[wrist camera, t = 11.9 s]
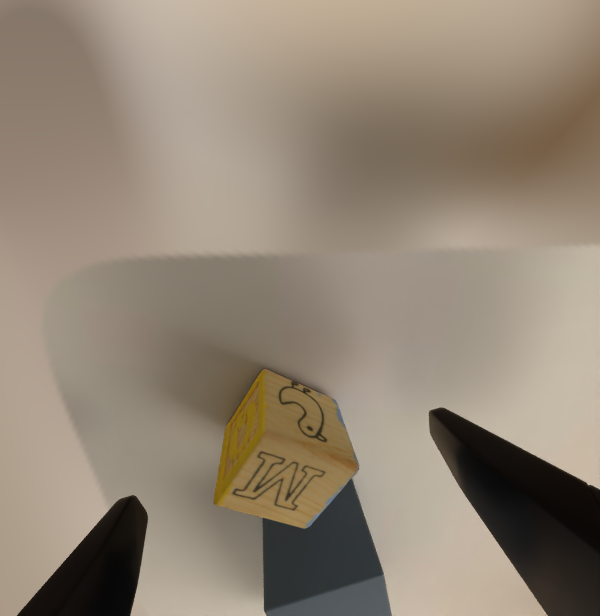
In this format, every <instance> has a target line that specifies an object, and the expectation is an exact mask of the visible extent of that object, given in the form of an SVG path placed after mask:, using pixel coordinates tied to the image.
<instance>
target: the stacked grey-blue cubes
mask: <svg viewBox="0 0 600 616" xmlns="http://www.w3.org/2000/svg"><path fill="white" fill-rule="evenodd" d="M263 572H264V611H265V613H266V615H267V616H392V615H391V610H390V604H389V599H388V594H387V589H386V583H385V578H384V573H383V570H382V567H381V564H380V561H379V558H378V555H377V552H376V549H375V546H374V543H373V540H372V537H371V534H370V531H369V528H368V525H367V522H366V519H365V516H364V513H363V510H362V507H361V504H360V501H359V498H358V495H357V492H356V489H355V487H354V484H353V481H352V479H350V480H349V481H348V483H347V484H346V485H345V486H344V488H343V489H342V490H341V491H340V492H339V493H338V494H337V496H336V497H335V498H334V499H333V500H332V502H331V503H330V504H329V505H328V506H327V507H326V508H325V509H324V510H323V512H322V513H321V514H320V515H319V516H318V518H317V519H316V520H315V521H314V522H313V523H312V525H311V526H309V527H308V528H305V529H304V528H300V527H297V526H293V525H289V524H285V523H281V522H278V521H274V520H270V519H266V518H263Z"/></svg>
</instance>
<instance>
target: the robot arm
mask: <svg viewBox="0 0 600 616" xmlns="http://www.w3.org/2000/svg"><path fill="white" fill-rule="evenodd" d="M429 426H430V433H431V436H432V438H433V440H434V442H435V444H436V445H437V447H438V449H439V451H440V453H441V454H442V456H443V458H444V460H445V462H446V463H447V465H448V467H449V469H450V471H451V472H452V474H453V476H454V478H455V480H456V481H457V483H458V485H459V486H460V488H461V490H462V491H463V493H464V494H465V496H466V497H467V499H468V500H469V502H470V503H471V505H472V506H473V507H474V509H475V510H476V512H477V513H478V515H479V516H480V518H481V519H482V521H483V522H484V523H485V525H486V526H487V528H488V529H489V531H490V532H491V534H492V535H493V537H494V538H495V539H496V541H497V542H498V544H499V545H500V547H501V548H502V550H503V551H504V553H505V554H506V555H507V557H508V558H509V560H510V561H511V563H512V564H513V566H514V567H515V569H516V570H517V571H518V573H519V574H520V576H521V577H522V579H523V580H524V582H525V583H526V585H527V586H528V587H529V589H530V590H531V592H532V593H533V595H534V596H535V598H536V599H537V601H538V602H539V603H540V605H541V606H542V608H543V609H544V611H545V612H546V614H547V615H548V616H600V489H598V488H596V487H594V486H592V485H589V486H588V484H587V483H586V482H584V481H582V480H580V479H578V478H577V477H575V476H573V475H571V474H569V473H567V472H565V471H563V470H561V469H559V468H558V467H556V466H554V465H552V464H550V463H548V462H546V461H544V460H542V459H540V458H538V457H537V456H535V455H533V454H531V453H529V452H527V451H525V450H523V449H521V448H519V447H518V446H516V445H514V444H512V443H510V442H508V441H506V440H504V439H502V438H500V437H499V436H497V435H495V434H493V433H491V432H489V431H487V430H485V429H483V428H481V427H479V426H478V425H476V424H474V423H472V422H470V421H468V420H466V419H464V418H462V417H460V416H459V415H457V414H455V413H453V412H451V411H449V410H447V409H445V408H437V409H433V410H431V411H430V412H429ZM147 523H148V515H147V512H146V510H145V508H144V507H143V506H142V504H141V503H140V501H139V500H138V498H137V497H136V496H134V495H131V496H128V497H124V498H121V499H119V500H118V501H117V502H116V503H115V504H114V505H113V506H112V507H111V509H110V510H109V511H108V512H107V513H106V514H105V515H104V517H103V518H102V519H101V520H100V521H99V522H98V523H97V525H96V526H95V527H94V528H93V529H92V530H91V531H90V533H89V534H88V535H87V536H86V537H85V538H84V539H83V541H82V542H81V543H80V544H79V545H78V546H77V547H76V549H75V550H74V551H73V552H72V553H71V554H70V556H69V557H68V558H67V559H66V560H65V561H64V562H63V564H62V565H61V566H60V567H59V568H58V569H57V570H56V571H55V573H54V574H53V575H52V576H51V577H50V578H49V579H48V581H47V582H46V583H45V584H44V585H43V586H42V587H41V589H40V590H39V591H38V592H37V593H36V594H35V595H34V597H33V598H32V599H31V600H30V601H29V602H28V603H27V605H26V606H25V607H24V608H23V609H22V610H21V611H20V613H19V614H18V615H17V616H130V614H131V610H132V606H133V602H134V598H135V593H136V589H137V584H138V579H139V573H140V567H141V561H142V554H143V548H144V542H145V535H146V529H147Z"/></svg>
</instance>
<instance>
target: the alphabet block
mask: <svg viewBox="0 0 600 616" xmlns="http://www.w3.org/2000/svg"><path fill="white" fill-rule="evenodd" d="M358 470H359V463H358V460H357V458H356V455H355V452H354V450H353V447H352V444H351V441H350V439H349V436H348V433H347V430H346V427H345V424H344V421H343V418H342V415H341V412H340V409H339V407H338V404H337V402H336V400H334V399H332V398H330V397H328V396H326V395H323V394H321V393H319V392H316V391H314V390H312V389H309V388H307V387H305V386H303V385H301V384H299V383H296V382H294V381H291V380H289V379H287V378H284V377H282V376H280V375H278V374H276V373H273V372H271V371H269V370H267V369H264V370H262V371H261V373H260V374H259V376H258V377H257V379H256V380H255V382H254V383H253V385H252V387H251V388H250V390H249V391H248V393H247V395H246V396H245V398H244V399H243V401H242V402H241V404H240V406H239V407H238V409H237V410H236V412H235V414H234V415H233V417H232V419H231V420H230V422H229V423H228V424H227V426H226V430H225V435H224V442H223V447H222V454H221V459H220V465H219V471H218V477H217V483H216V488H215V494H214V504H215V505H217V506H221V507H224V508H227V509H231V510H236V511H239V512H243V513H247V514H251V515H255V516H258V517H262V518H266V519H270V520H274V521H278V522H281V523H285V524H289V525H293V526H297V527H300V528H304V529H305V528H308V527H309V526H311V525H312V523H313V522H314V521H315V520H316V519H317V518H318V516H319V515H320V514H321V513H322V512H323V510H324V509H325V508H326V507H327V506H328V505H329V504H330V503H331V502H332V500H333V499H334V498H335V497H336V496H337V494H338V493H339V492H340V491H341V490H342V489H343V488H344V486H345V485H346V484H347V483H348V481H349V480H350V479H351V478H352V477H353V476H354V475H355V474H356V473H357V472H358Z"/></svg>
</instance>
